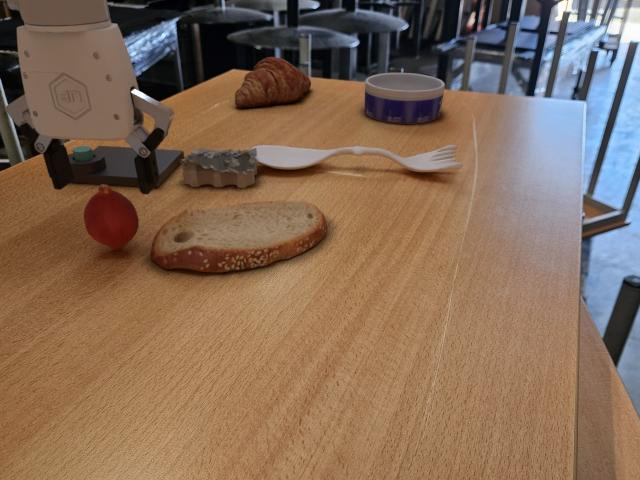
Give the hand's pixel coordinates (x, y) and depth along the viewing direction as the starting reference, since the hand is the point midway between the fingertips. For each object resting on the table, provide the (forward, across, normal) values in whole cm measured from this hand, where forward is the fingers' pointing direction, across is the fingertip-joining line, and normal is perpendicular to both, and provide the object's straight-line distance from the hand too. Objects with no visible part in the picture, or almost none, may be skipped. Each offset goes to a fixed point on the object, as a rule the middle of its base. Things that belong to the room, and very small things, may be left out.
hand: (106, 187), depth 62 cm
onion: (+8, 0, 0) cm, 8 cm away
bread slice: (+8, +14, +4) cm, 16 cm away
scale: (+7, -10, +24) cm, 27 cm away
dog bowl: (+8, +32, +62) cm, 70 cm away
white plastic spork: (+8, +25, +30) cm, 40 cm away
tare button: (+5, -14, +21) cm, 25 cm away
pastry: (+8, +4, +68) cm, 69 cm away
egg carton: (+8, +6, +23) cm, 25 cm away
